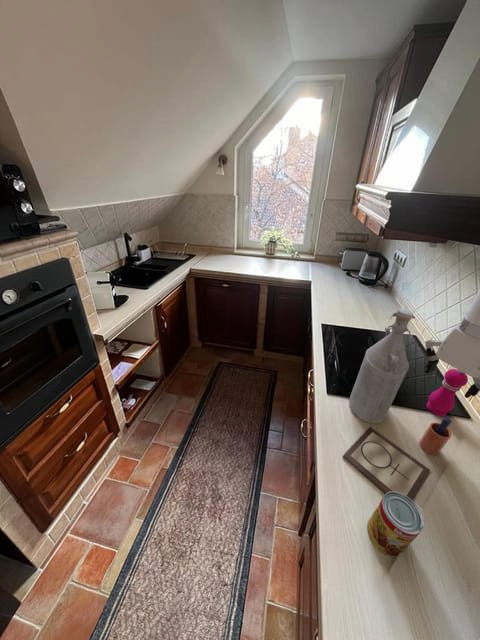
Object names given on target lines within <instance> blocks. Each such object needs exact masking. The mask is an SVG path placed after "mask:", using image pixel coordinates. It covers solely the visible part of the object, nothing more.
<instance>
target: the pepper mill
mask: <svg viewBox="0 0 480 640" xmlns="http://www.w3.org/2000/svg"><path fill="white" fill-rule="evenodd" d="M468 381H469V377H468V375H467V374H465V373H463V372H461V371H460V370H458V369H456V368H451V369H447V371H445V372H444V378H443V380H442V381H441V383H442V385H441V386H440V387H439V388H438V389H436V390H433V391H432V392H431V393H430V394H429V396H428V401H427V403H426V405H425V407H426V408H427V410H428V411H429V412H430V413H432V414H433V415H436V416H439V417H446V416H447V414H448V413H449V412H450V411H452V410H453V409H454V407H455V404H456V403H455V395H456V393H457V392H459V391H461V389H462V387H465V386H466V385H467V384H468Z"/></svg>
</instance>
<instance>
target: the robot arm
mask: <svg viewBox="0 0 480 640" xmlns="http://www.w3.org/2000/svg"><path fill="white" fill-rule="evenodd" d="M424 343H425V352H426V354H427V356H428V357H427V360H428V362H427V363H426V365H425V371H424V373H425V374H430V373H432V372H434V371H435V369H436V368H437V366H438V364H439V362H440V361H441V362H443V363H445V364H447V365H449V366H450V367H452V368H453V369H458V370H460V371H461V372H463V373H465V374H466V375H467V376H469V377H471V379H472V381H473V384H471V385H470V387H469V388H468V389H467V390H466V393H464V398H466V399H468V398H470V397H476V396H477V395H478V394H479V392H480V288H479V289H478V291H477V293H476V295H475V296H474V299H473V300H472V302H471V304H470V306H469V307H468V309H467V311H466V313H465V315H464V316H463V318H462V320H461V322H460V323H458V324H456V325H455V326H453V328H452V329H451V330H450V331H449V333H447V335H446V336H445V338H444V339H443V340H436V339H435V340H433V339H428V340H426V341H425V342H424ZM434 347H438V348H437V351H436V350H435V348H434Z"/></svg>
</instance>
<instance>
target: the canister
mask: <svg viewBox="0 0 480 640" xmlns="http://www.w3.org/2000/svg"><path fill="white" fill-rule="evenodd" d="M392 318H395V321H394V322H393V323H392V324H391V325H388V326H385V328H384V331H385V336H384V337H383V338H382V339H380V340H378V341H377V342H376V343H375V344H373V345H372V346H370V347H369V348H367V349H366V351H365V354H364V357H363V360H362V363H361V365H360V369H359V371H358V373H357V377H356V380H355V383H354V385H353V387H352V391H351V394H350V396H349V400H348V402H349V407H350V410H351V411H352V412H353V414H354V415H355V416H356V417H357V418H358V419H359V420H362V421H364V422H366V423H369V424H380V423H383V422H384V421H385V420H386V417H387V414H388V412H389V410H390V408H391V406H392V404H393V402H394V400H395V398H396V397H397V393H398V392H399V390H400V388H401V385H402V383H403V381H404V379H405V377H406V375H407V373H408V371H409V368H410V364H409V361H408V357H407V351H406V348H405V347H406V346H405V342H404V341H405V340H404V337H403V335H404V333H405V332H407V333H408V335H407V336H406V341H409V340H410V339H411V338H413V335H414V334H411V331H410V330H409V329H408V324H409V322H410V321H411V320H412V319H414V320H416V316H415V315H414V313H413V312H412V311H410V310H409V309H405V308H403V307H402V308H400V307H399V308H397V311H396V312H394V313H392V315H391V316H390V318H389V320H388V321H389V322H390V320H391V319H392Z"/></svg>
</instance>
